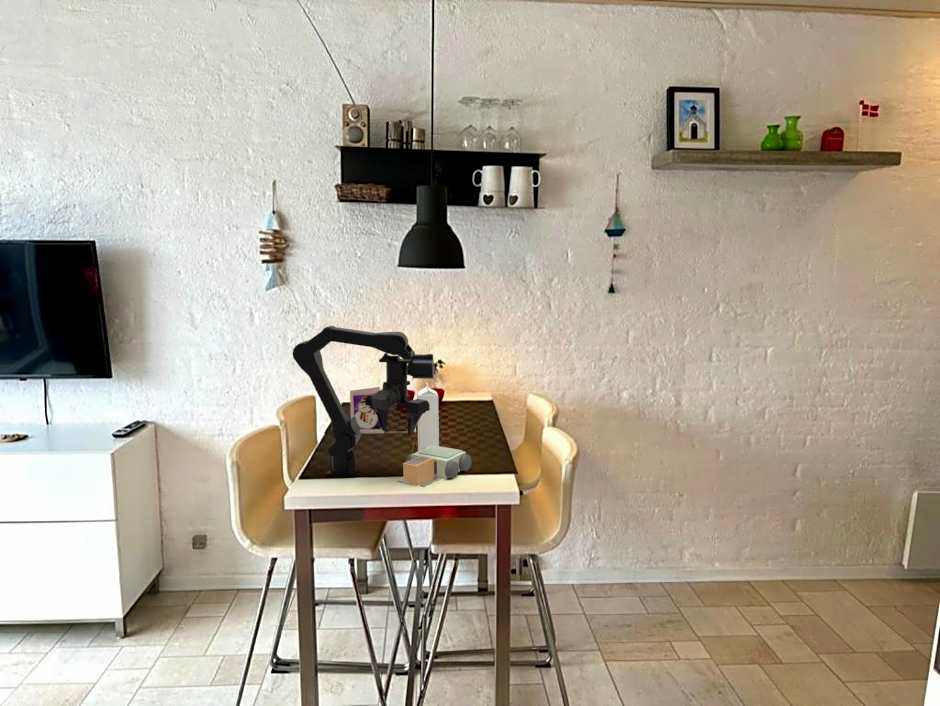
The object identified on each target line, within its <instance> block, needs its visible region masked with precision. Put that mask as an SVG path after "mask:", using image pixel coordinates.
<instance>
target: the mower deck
mask: <svg viewBox="0 0 940 706" xmlns="http://www.w3.org/2000/svg"><path fill="white" fill-rule="evenodd" d="M419 456H425V457H430V458H434V475H437V476H442V478H441V479H445V478H446V479H455V478H456V477H457V476H458V472H459V473H460V471H461V472H468V471H469V470H470V468H471V467H472V457H471V455H469V454H467V452H466V451H464V450H462V449H457V448H451V447H445V446H441V445H439V446H435V445H434V446H430V447H428V448H423V449H422V450H421V451H418V450H417V451H416V452H414V453H409V454H408V455H407V456H406V459H405V462H407V461H410V460H412V459H414V458H417V457H419Z"/></svg>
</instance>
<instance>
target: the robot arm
mask: <svg viewBox="0 0 940 706" xmlns="http://www.w3.org/2000/svg"><path fill="white" fill-rule="evenodd" d="M331 342H334V343H342V344H348V345H354V346H360V347H361V346H362V347H369V348H372V349H376V350H378V351H381V352H382V353H384V354H383V355H382V356H381V358H380V359H379V360H378V362H379V363H385V367H386V370H385V371H386V374H385V375H386V377H385V378H386V381H383V383H382V389H380V391H378V392H377V393H374V394H370V395H367V397H366V399H365V405H367V406H369V408H370V409H372V410H373V411H374V412H375V413H376V415H377V417H378V419H379V422H380V425H381V428H382V430H383V431H384V432H385V431H386V430H387V427H388V419H389V413H390V412H389V410H390V407H391V406H393V407H397V408H398V407H400V408H405V411H406V412H405V413H404V415H405V416H406V418H407V435H408V436H409V437H411V436H413V433H414V432H415V429H416V427H417V426H418V421H419V419H420V417H421V415H422V414H423V413H426V411H429V406H430V405H429V402H428V401H427V400H421V399H417V398H415V399H412V400H411V395H410V394H409V395H408V386H410V385H411V380H408V374H409V376H410V377H412V379H415V380H417V379H419V380H420V379H421V380H422V379H424V380H425V379H429V380H430V379H431V380H434V379H435V369H436V368H435V363H434V354H433V353H427V354H417V353H416V352H415V350H414V349H413V348H412V347H411V345H410V344H409V339H408V337H407V335H406V334H405V333H404V332H401V331H388V332H387V331H384V332H383V331H382V332H372V331H371V332H370V331H365V330H357V329H351V328H343V327H337V326H334V325H328V326H326V327H323V329H322V330H321V331H320V332H319V333H318V334H316V335H314V336H313V337H312V338H310V339H309V340H304V341H303V342H300V343H298V344H296V345H295V346H294V348H293V350H292V352H291V354H292V358H293V359H294V361H295V362H296V364H297V366H299V368H300V369H301V370H302V371H303V372H304V373H305V374H306V375H307V376H308V377H309V379H310V380H311V383H312V385H313V388H314V389H315V391H316V393H317V395H318V397H319V400H320V401H321V404H322V405H323V407H324V409H325V411H326V413H327V416H328V417H329V420H330V422H331V429H332V433H333V438H334V441H333V442H332V443H331V445H329V447H328V448H327V452H328V454H329V466H330V468H329V469H330V470H328V471H326V475H328V476H329V475H330V476H334V477H338V478H346V477H348V476H351V475H353V474H355V473H358V472H359V469H356V459H355V453H354V452H355V451H352V449H353V448H354V447H355V445H356V444H357V443H358V442H359V440H360V438H361V434H362V433H361V432H360V429H361V427H360V426H359V425H358V423H357V420H356V417H355V416H354V417H352V418H351V416H349V415H348V414H347V413H346V411H345V410H344V408H343V405H342V403H341V402H340V399H339V397H338V395H337V394H336V391H335V389H334V387H333V386H332V383H331V381H330V378H329V376H328V375H327V373H326V371H325V369H324V362H323V355H322V353H321V350H322V349H324V348H325V347H326V346H328V345H329V344H330V343H331Z"/></svg>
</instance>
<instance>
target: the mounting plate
mask: <svg viewBox="0 0 940 706" xmlns="http://www.w3.org/2000/svg"><path fill="white" fill-rule="evenodd" d="M440 478H441V479H443V478H442V476H437V475H434V476H433V477H431V478H429V479H426V480H424V481H422V482H420V483H418V484H415V485H414V486H417V485H419V486H418V487H422V486H423V488H426V487H427V486H429V485H431V484H433V483H435V482H436V480H437V481H439V480H440ZM438 479H439V480H438ZM396 480H397V482H398V481H401V482H400V483H403V482H405V481H403V476H402V477H400V478H398V479H396ZM434 481H435V482H434ZM432 482H433V483H432ZM408 483H409V482H406V483H405V484H408ZM430 483H431V484H430ZM412 484H414V483H409V485H412ZM426 485H427V486H426Z"/></svg>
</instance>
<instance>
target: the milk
mask: <svg viewBox="0 0 940 706" xmlns="http://www.w3.org/2000/svg"><path fill="white" fill-rule="evenodd" d="M416 399H421V400H427V401H428V402H429V405H430V406H429V411H426V413H423V414H422V415H421V417H420V419H419V421H418V423H417V452H418V451H421V450H422V449H423V448H428V447H430V446H434V445H435V446H440V435H439V434H440V433H439V431H440V425H439V421H440V420H439V394H438V392H437V391H436V390H435V389H432V388H431V387H429V384H428V382H427V381H426V385H425V387H423V388H422V389H419V391H417V392H416Z"/></svg>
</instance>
